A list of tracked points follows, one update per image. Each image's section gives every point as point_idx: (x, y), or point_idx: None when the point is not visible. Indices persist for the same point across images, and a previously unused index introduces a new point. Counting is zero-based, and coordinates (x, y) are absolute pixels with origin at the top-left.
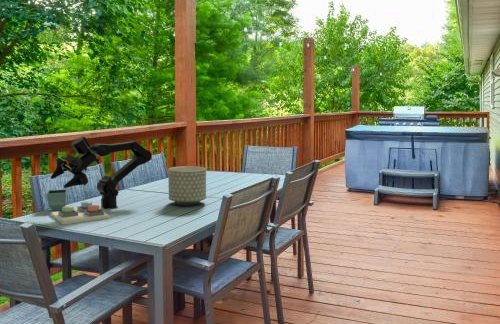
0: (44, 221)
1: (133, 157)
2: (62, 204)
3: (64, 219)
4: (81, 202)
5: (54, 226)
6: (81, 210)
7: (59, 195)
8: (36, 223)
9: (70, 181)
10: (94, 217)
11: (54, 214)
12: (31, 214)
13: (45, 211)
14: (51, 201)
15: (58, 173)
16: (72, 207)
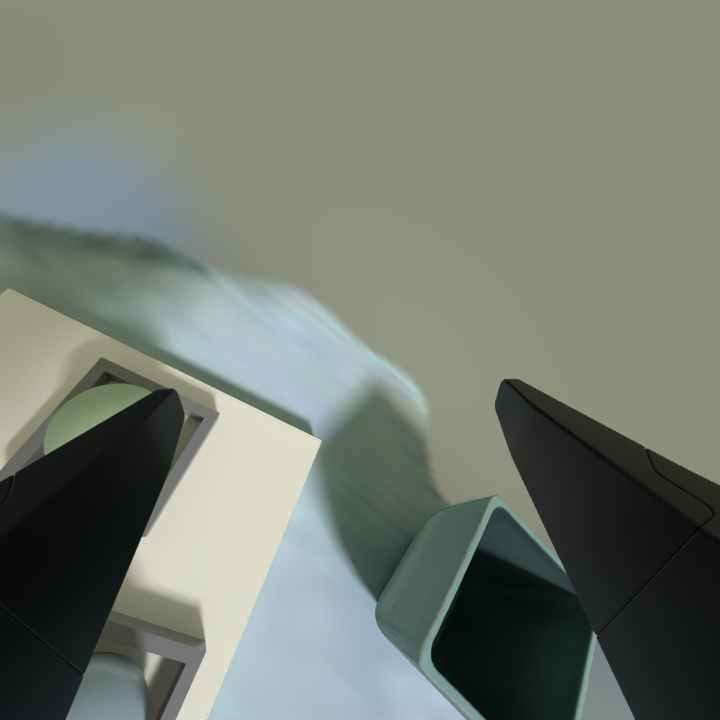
0: (225, 321)
1: None
2: (385, 598)
3: (37, 326)
4: (133, 699)
5: (51, 248)
6: None
7: (434, 588)
8: (229, 275)
9: (14, 484)
10: None
11: (247, 407)
12: (421, 408)
13: (430, 500)
14: (439, 524)
15: (593, 546)
16: (45, 446)
